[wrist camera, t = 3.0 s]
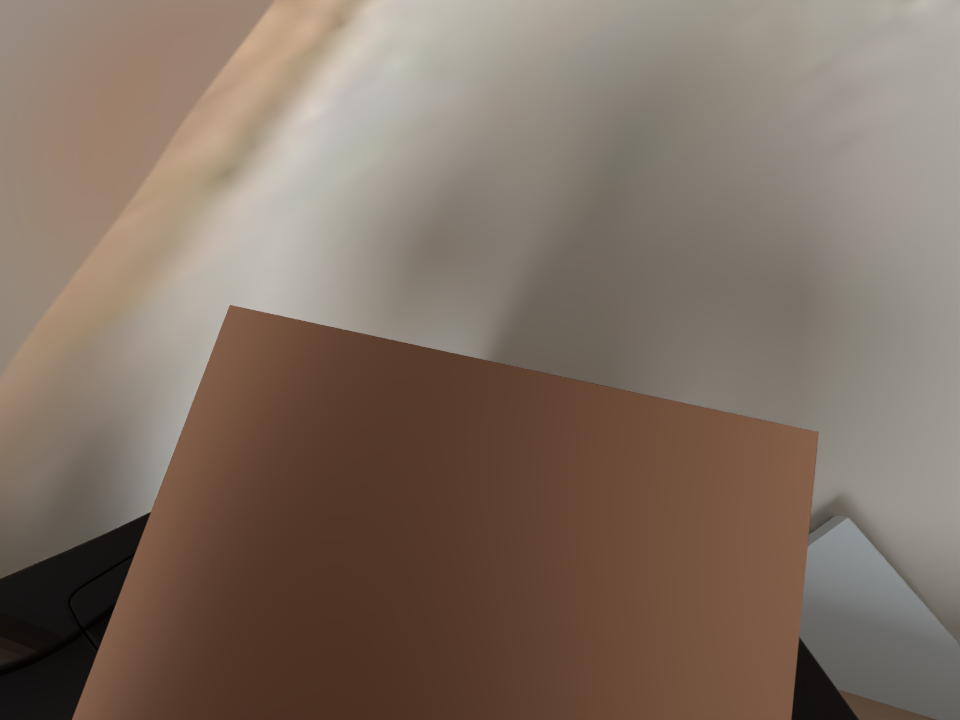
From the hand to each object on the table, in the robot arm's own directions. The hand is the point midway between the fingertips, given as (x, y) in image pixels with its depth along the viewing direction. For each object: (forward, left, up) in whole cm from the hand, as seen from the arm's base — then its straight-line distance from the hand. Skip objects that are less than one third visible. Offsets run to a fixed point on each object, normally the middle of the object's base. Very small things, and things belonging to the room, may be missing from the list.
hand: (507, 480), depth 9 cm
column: (-1, +1, -7) cm, 7 cm away
